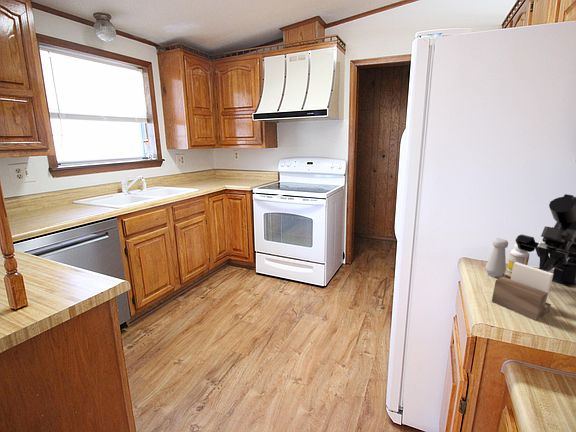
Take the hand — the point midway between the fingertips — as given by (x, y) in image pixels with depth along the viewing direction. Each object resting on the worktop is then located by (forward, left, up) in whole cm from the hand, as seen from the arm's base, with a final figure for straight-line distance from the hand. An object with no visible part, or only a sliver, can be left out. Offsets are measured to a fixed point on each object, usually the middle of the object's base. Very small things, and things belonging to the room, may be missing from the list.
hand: (540, 273), depth 92 cm
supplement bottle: (-11, -14, -8) cm, 19 cm away
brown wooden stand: (+10, +3, -7) cm, 13 cm away
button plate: (+6, +2, -4) cm, 8 cm away
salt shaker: (-1, -14, -8) cm, 16 cm away
